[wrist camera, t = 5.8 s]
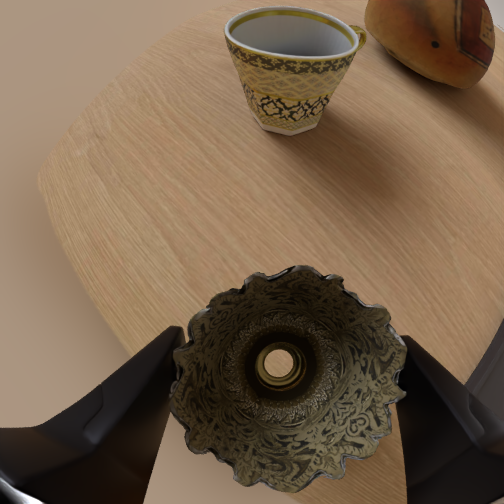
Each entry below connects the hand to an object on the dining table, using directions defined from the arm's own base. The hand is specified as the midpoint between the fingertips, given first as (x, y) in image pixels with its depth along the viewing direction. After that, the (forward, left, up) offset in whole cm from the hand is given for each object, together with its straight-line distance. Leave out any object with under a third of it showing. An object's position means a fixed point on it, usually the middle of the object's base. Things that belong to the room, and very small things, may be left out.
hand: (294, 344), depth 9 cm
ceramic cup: (+20, +8, -11) cm, 24 cm away
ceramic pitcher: (+44, -4, -11) cm, 45 cm away
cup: (-1, -1, -7) cm, 7 cm away
